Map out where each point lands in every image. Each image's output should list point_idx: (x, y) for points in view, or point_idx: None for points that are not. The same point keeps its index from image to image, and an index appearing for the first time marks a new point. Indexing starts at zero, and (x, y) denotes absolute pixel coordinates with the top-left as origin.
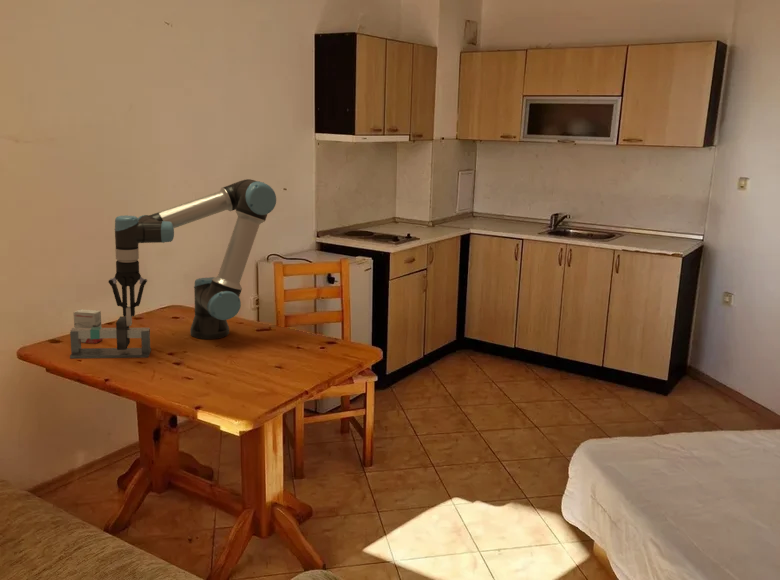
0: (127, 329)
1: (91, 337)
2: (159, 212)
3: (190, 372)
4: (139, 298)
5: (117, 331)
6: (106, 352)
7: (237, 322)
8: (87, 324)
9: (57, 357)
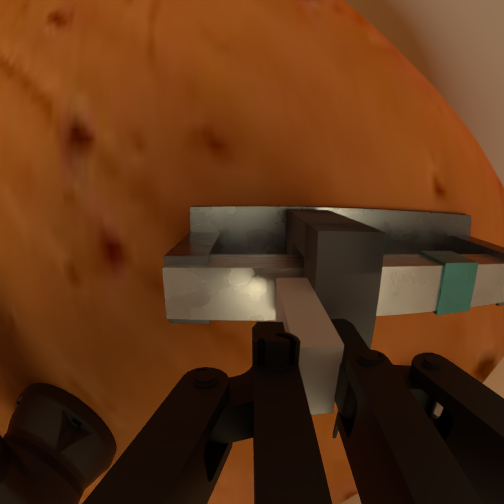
0: None
1: (452, 252)
2: None
3: (47, 61)
4: (151, 440)
5: (353, 221)
6: None
7: None
8: None
9: (491, 229)
